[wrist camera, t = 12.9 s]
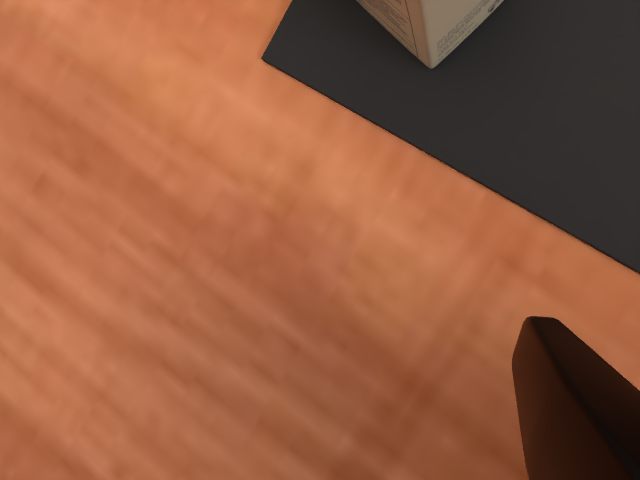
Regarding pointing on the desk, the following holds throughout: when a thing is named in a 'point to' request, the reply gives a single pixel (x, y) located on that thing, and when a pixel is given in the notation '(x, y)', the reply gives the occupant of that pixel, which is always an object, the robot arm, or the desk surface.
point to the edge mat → (500, 102)
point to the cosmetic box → (430, 23)
